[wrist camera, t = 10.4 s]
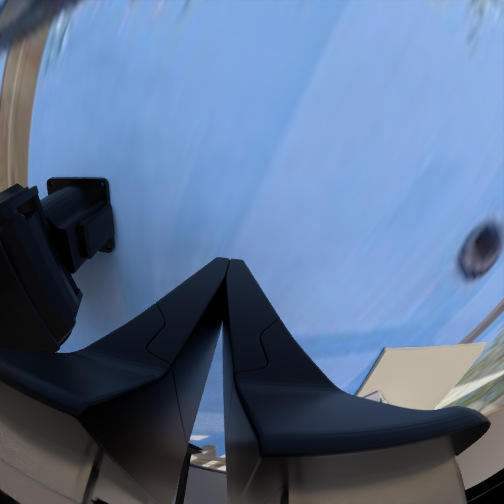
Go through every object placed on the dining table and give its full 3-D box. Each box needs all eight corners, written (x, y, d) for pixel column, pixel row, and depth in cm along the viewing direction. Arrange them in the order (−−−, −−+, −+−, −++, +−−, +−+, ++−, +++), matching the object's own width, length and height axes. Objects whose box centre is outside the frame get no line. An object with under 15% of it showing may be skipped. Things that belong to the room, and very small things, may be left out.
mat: (330, 428, 38) (331, 431, 37) (384, 347, 28) (385, 350, 27) (421, 418, 38) (422, 420, 38) (485, 341, 28) (487, 344, 28)
